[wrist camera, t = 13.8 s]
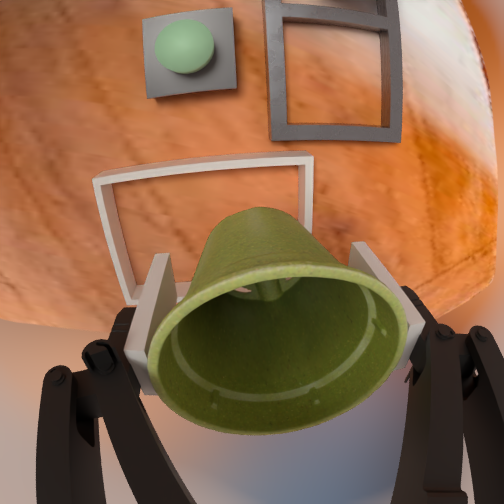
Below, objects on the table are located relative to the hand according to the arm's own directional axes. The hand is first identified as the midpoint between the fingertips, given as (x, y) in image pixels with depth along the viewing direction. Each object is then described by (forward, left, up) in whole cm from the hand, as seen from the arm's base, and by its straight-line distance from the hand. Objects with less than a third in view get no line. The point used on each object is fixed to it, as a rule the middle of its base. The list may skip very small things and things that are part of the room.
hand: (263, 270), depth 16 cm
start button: (-4, +13, -16) cm, 21 cm away
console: (-4, +13, -17) cm, 22 cm away
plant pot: (0, 0, -2) cm, 2 cm away
